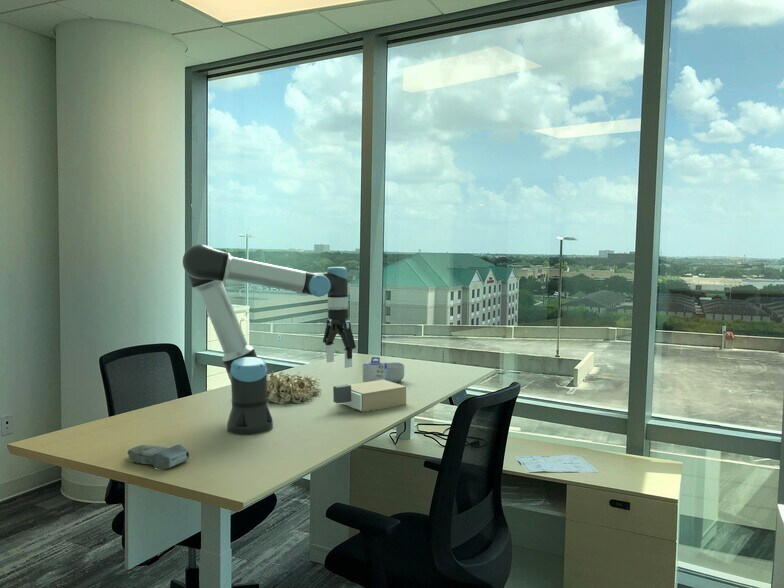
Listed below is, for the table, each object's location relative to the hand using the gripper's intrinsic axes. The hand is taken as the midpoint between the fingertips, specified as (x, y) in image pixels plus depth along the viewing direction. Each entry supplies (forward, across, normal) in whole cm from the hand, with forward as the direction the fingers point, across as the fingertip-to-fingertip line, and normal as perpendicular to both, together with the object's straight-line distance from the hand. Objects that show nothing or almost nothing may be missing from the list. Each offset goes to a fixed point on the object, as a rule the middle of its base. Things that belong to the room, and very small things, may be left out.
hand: (339, 364), depth 228 cm
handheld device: (+17, -17, +72) cm, 76 cm away
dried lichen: (+18, +32, +9) cm, 38 cm away
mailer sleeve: (+17, 0, -15) cm, 23 cm away
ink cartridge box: (+18, +17, -27) cm, 37 cm away
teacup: (+18, +30, -44) cm, 56 cm away
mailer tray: (+17, 0, -11) cm, 20 cm away
